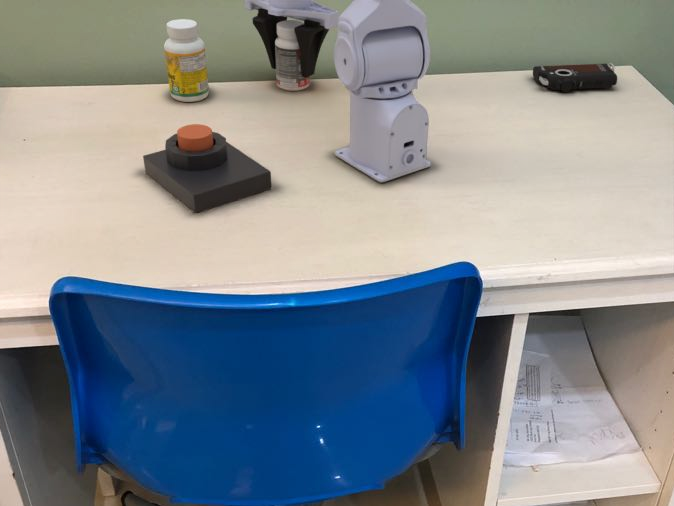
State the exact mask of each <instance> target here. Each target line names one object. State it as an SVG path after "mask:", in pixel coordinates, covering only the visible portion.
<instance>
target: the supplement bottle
mask: <svg viewBox="0 0 674 506" xmlns="http://www.w3.org/2000/svg"><path fill="white" fill-rule="evenodd" d="M166 31H167V32H166V33H167V35H168V37H169V38H167V39H166V40H165V42H164V45H163V46H164V47H163V48H164V49H163V50H164V56H165V65H166V73H167V79H168V89H169V94H170V96H171V98H173V99H174V100H176V101H178V102H184V103H193V102H199V101H202V100H204V99H207V98H208V96H209V94H210V87H209V77H208V67H207V58H206V57H207V56H206V48H205V47H206V45H205V43H204V41H203V40H202V38H200V37H199V36H198V35H199V28H198V22H197V21H195V20H192V19H188V18H183V19H182V18H178V19H173V20H169V21H168V22H167V23H166Z"/></svg>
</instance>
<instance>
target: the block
mask: <svg viewBox="0 0 674 506" xmlns="http://www.w3.org/2000/svg"><path fill="white" fill-rule="evenodd" d="M212 134H213V144H214V145H213V147H211V148H209V149H206V150H202V151H187V150H182V149H180V148H179V145H178V137H177V133H174V134H173V135H172V136H171V135H170V137H169V138H167V139H166V140H165V146H164V149H163V150H160V151H155V152H152V153H148V154H145V155H142V158H143V166H144V171H145V174H146V175H148V176H149V177H150V178H151V179H153V180H154V181H155V182H156V183H158V185H160V186H161V187H162V188H164V189H165V190H166V191H167V192H169V193H170V194H171V195H173V196H174V197H175V198H176V199H178V200H179V201H180V202H181V203H182V204H184V206H186V207H187V208H189V209H190V210H191V211H193V212H194V213H195V214H197V213H201V212H203V211H206V210H209V209H213V208H215V207H216V208H217V207H219V206H222V205H226V204H229V203H231V202H235V201H239V200H241V199H244V198H247V197H251V196H253V195H257V194H259V193H263V192H265V191H269V190H272V172H271V170H269V169H268V168H266V167H265V166H263V165H262V164H260V163H259V162H258V161H256V160H254V159H253V158H251V157H250V156H249V155H247V154H245V153H244V152H242V151H241V150H240V149H238V148H237V147H235V146H233V145H232V144H231V143H229V142H227V138H226V137H225V136H223V135H222V134H220V133H219V132H215V131H212Z"/></svg>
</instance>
